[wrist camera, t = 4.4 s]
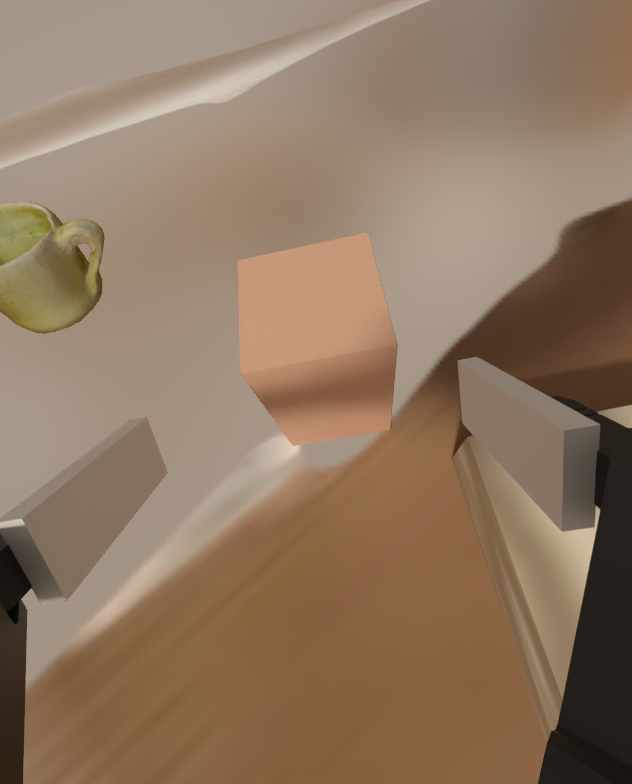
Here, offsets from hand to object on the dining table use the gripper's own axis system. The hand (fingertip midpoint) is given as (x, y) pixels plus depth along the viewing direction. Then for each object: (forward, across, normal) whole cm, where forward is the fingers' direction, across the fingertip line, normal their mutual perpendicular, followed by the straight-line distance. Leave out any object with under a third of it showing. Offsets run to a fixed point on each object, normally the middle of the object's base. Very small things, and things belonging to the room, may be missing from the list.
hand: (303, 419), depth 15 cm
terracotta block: (+12, +1, -3) cm, 12 cm away
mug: (+23, -23, +8) cm, 33 cm away
